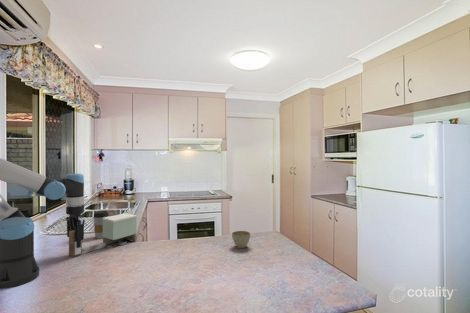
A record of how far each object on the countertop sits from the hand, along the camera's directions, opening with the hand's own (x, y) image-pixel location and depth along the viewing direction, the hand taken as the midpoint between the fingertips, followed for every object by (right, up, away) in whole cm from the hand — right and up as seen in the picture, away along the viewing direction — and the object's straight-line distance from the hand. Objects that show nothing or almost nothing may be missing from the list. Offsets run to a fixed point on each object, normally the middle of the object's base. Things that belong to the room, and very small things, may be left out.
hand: (75, 252), depth 129 cm
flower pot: (+82, -1, +12) cm, 82 cm away
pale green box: (+14, -1, +18) cm, 23 cm away
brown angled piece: (+4, -1, +5) cm, 7 cm away
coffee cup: (-2, -1, +28) cm, 28 cm away
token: (+16, -1, +16) cm, 23 cm away
